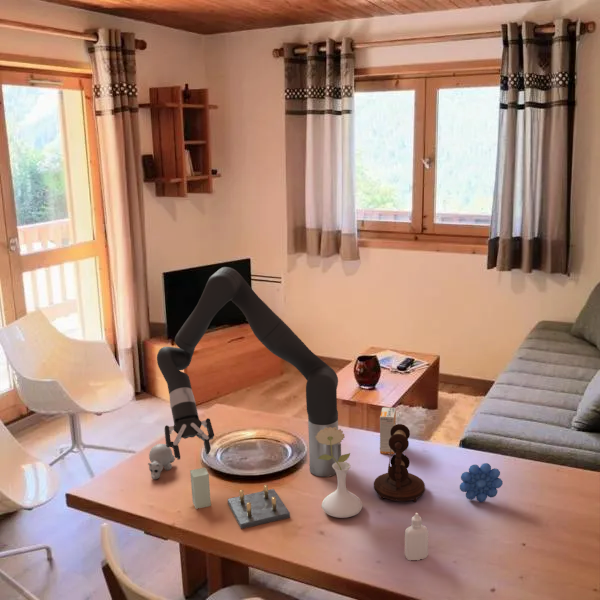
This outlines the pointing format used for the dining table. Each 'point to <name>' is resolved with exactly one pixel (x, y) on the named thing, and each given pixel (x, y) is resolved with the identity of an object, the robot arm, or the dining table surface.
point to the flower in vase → (341, 499)
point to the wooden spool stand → (399, 471)
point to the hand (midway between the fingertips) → (193, 456)
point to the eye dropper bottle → (416, 540)
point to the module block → (200, 488)
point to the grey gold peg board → (258, 508)
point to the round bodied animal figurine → (160, 460)
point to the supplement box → (386, 428)
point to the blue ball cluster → (480, 482)
